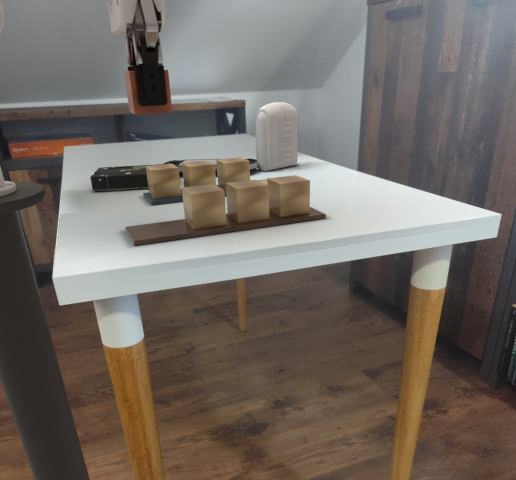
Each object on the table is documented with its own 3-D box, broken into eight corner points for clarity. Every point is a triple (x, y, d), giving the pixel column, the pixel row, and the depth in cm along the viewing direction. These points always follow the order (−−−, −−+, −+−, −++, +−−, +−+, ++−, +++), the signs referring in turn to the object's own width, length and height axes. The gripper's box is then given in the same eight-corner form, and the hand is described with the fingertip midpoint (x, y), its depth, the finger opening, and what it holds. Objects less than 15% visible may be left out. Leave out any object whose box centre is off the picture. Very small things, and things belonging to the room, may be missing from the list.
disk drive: (92, 193, 87) (176, 187, 89) (89, 177, 86) (175, 170, 87) (100, 182, 96) (176, 176, 98) (97, 167, 95) (174, 161, 96)
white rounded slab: (285, 163, 108) (284, 100, 102) (300, 164, 105) (301, 100, 99) (253, 170, 101) (251, 103, 95) (269, 172, 99) (267, 104, 93)
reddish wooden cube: (134, 114, 56) (128, 70, 54) (129, 112, 60) (123, 71, 58) (172, 112, 58) (168, 69, 56) (165, 110, 61) (160, 70, 59)
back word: (151, 205, 77) (147, 172, 75) (143, 196, 83) (139, 165, 80) (290, 188, 85) (290, 158, 82) (274, 181, 90) (273, 152, 88)
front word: (134, 245, 59) (127, 203, 57) (125, 231, 65) (119, 192, 62) (325, 218, 67) (327, 180, 65) (303, 207, 73) (303, 172, 70)
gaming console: (159, 178, 98) (157, 164, 97) (170, 169, 106) (168, 157, 104) (255, 176, 96) (255, 162, 95) (259, 167, 104) (259, 155, 102)
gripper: (81, -78, 55) (109, 102, 64) (93, -129, 41) (127, 110, 50) (148, -74, 58) (166, 100, 66) (180, -122, 44) (198, 106, 53)
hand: (149, 102), depth 58 cm, fingers closed on reddish wooden cube, 4 cm apart
